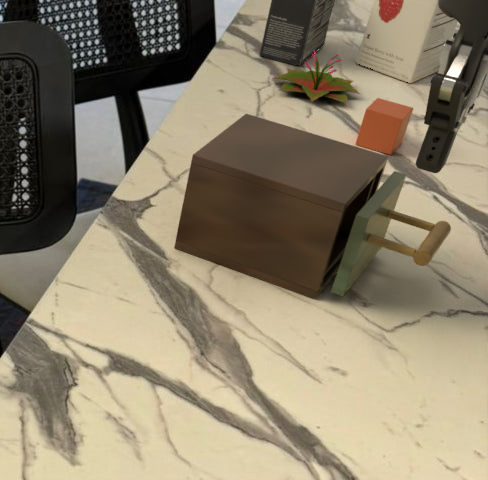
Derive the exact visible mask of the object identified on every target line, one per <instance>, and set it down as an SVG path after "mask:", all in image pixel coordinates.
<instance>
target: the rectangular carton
mask: <svg viewBox="0 0 488 480" xmlns="http://www.w3.org/2000/svg"><path fill="white" fill-rule="evenodd" d="M438 1H439V0H373V4H372V7H371V10H370V13H369V16H368V20H367V23H366V26H365V30H364V33H363V36H362V40H361V43H360V47H359V50H358V53H357V57H356V60H355V64H356V63H357V64H356V65H359V64H360V65H359V66H362V67H364V66H365V67H364V68H367V67H368V68H367V69H370V68H371V69H370V70H372V69H373V71H375V72H377V73H380V74H384V75H386V76H389V77H392V78H395V79H397V80H398V81H399V80H400V81H402V82H405V83H407V82H408V83H407V84H413V83H415V82H417V81H419V80H421V79H422V80H423V79H425V78H426V77H429V76H430V75H432V74H436V73H438V71H439V68H440V63H439V58H440V55H441V52H442V49H443V46H444V44H445V42H446V40H447V39H448V40H451V39H452V36H453V34H454V33H455V30H456V27H457V24H458V23H459V22H458V21H457V20H456V19H455V18H450V17H448V16H447V15H445V14H444V13H443V12H442V11H441V10H440V8H439V5H438Z"/></svg>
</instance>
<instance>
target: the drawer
mask: <svg viewBox="0 0 488 480" xmlns="http://www.w3.org/2000/svg"><path fill="white" fill-rule="evenodd" d="M406 177H407V174H406V173H403V172H400V171H396V170H394V171H393V172H392V173H391V174H390V175H389V176H388V177H387V179H386V180H385V181H384V182H383V183H382V184H381V186H379V187H378V190H377V191H376V193H375V194H374V195H373V196H372V197H371V198H370V199H369V196H370V193H371V190H372V187H373V184H374V181H375V178H376V176H375V177H374V178H373V179H372V180H371V181H370V182H369V184H368V185H367V186H366V187H365V188H364V189H363V190H362V191H361V193H360V194H359V195H358V196H357V197H356V198H355V199H354V200H353V201H352V203H351V204H350V205H349V206H348V207H347V208H346V209H345V213H344V216H343V219H342V223H341V226H340V229H339V232H338V235H337V238H336V242H335V245H334V248H333V251H332V254H331V257H330V260H329V264H328V267H327V270H326V273H325V275H326V274H327V273H328V272H329V271H330V269H331V268H332V267H333V266H334V265H335V263H336V262H337V261H338V260H339V259H340V257H341V256H342V255H343V256H342V259H341V262H340V265H339V268H338V272H337V273H336V275H335V278H334V281H333V285H332V287H331V290H330V293H332V294H335V295H338V296H341V297H344V296H345V295H346V293H347V292H348V291H349V290H350V288H351V287H352V286H353V285H354V283H355V282H356V281H357V280H358V278H359V277H360V276H361V274H362V273H363V272H364V270H365V269H366V268H367V267H368V265H369V264H370V263H371V262H372V260H373V259H374V258H375V256H376V255H377V254H378V252H379V251H380V250H381V249H382V248H384V249H387V250H390V251H393V252H395V253H399V254H402V255H404V256H408V257H411V258H412V260H413V262H414V264H415V265H417V266H419V267H425V266H427V265H429V264H430V262H431V261H432V259H433V258H434V256H435V255H436V254H437V252H438V251H439V249H440V248H441V246H442V244H443V243H444V242H445V240H446V239H447V237H448V236H449V234H450V233H451V231H452V227H451V225H450V223H449V222H447V221H446V220H439V221H437V222H436V223H433V222H430V221H427V220H423V219H421V218H418V217H414V216H410V215H408V214H405V213H402V212H400V211H399V212H398V211H396V210H395V209H396V207H397V203H398V200H399V198H400V195H401V192H402V190H403V189H402V188H403V186H404V183H405V181H406ZM368 199H369V201H368ZM391 220H394V221H395V222H399V223H403V224H406V225H409V226H412V227H415V228H418V229H421V230H425V231H426V232H429V233H427V235H426V236H425V237H424V239H423V240H422V241H421V243H420V245H419V246H418V248H415V247H412V246H409V245H405V244H403V243H400V242H396V241H394V240H391V239H387V238H385V237H386V234H387V231H388V229H389V226H390V224H391ZM324 277H325V276H324Z"/></svg>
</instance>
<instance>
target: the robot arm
mask: <svg viewBox="0 0 488 480" xmlns="http://www.w3.org/2000/svg"><path fill="white" fill-rule="evenodd" d="M438 5H439V8H440V10H441V11H442V12H443V13H444V14H445V15H447V16H448V17H450V18H455V19H456V20H457V21H458V22H457V23H458V24H459V28H458V30H457V31H454V33H453V36H452V38H451V40H448V39H447V40H446V42H445V44H444V46H443V49H442V52H441V55H440V58H439V63H440V68H439V71H437V72H435V73H434V76H432V78H431V79H430V87H429V92H428V98H427V104H426V109H425V115H424V116H423V117H424V118H423V120H424V121H423V124H424V125H427V126H428V127H427V129H426V132H425V135H424V139H423V141H422V144H421V146H420V149H419V152H418V155H417V158H416V161H415V167H416V168H417V169H419V170H422V171H426V172H428V173H432V174H439V173H440V172H441V171H442V169H443V168H444V167H445V166H446V164H447V161H448V158H449V156H450V153H451V150H452V148H453V146H454V143H455V140H456V137H457V135H458V132H459V130H460V129H461V127H462V126H463V125H464V124H465V123H466V121H467V119H468V116H467V115H468V114H470V113H471V111H473V109H474V107H475V105H476V104H475V102H476V100H478V99H479V97H481V95H482V93H483V91H484V88H485V86H486V84H487V81H488V0H439V1H438Z"/></svg>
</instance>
